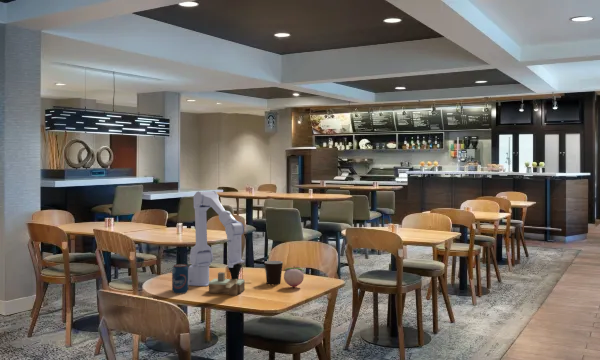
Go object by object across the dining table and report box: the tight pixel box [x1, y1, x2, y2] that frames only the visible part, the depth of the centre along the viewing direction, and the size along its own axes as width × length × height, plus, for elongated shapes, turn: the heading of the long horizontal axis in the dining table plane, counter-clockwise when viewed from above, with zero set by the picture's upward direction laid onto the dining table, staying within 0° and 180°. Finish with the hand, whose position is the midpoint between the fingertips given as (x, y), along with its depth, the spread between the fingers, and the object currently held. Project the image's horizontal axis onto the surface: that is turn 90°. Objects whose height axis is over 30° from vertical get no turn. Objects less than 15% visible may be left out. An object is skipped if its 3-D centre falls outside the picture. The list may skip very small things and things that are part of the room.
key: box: [226, 278, 237, 288], centre depth 245 cm, size 3×10×2 cm, turn 171°
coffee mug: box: [264, 260, 284, 286], centre depth 273 cm, size 12×9×10 cm
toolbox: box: [208, 278, 246, 297], centre depth 254 cm, size 14×13×5 cm
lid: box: [209, 271, 245, 285], centre depth 254 cm, size 14×8×5 cm, turn 81°
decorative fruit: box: [283, 267, 305, 288], centre depth 263 cm, size 9×8×10 cm
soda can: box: [171, 263, 189, 294], centre depth 253 cm, size 7×7×12 cm
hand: (234, 281), depth 251 cm, fingers closed
